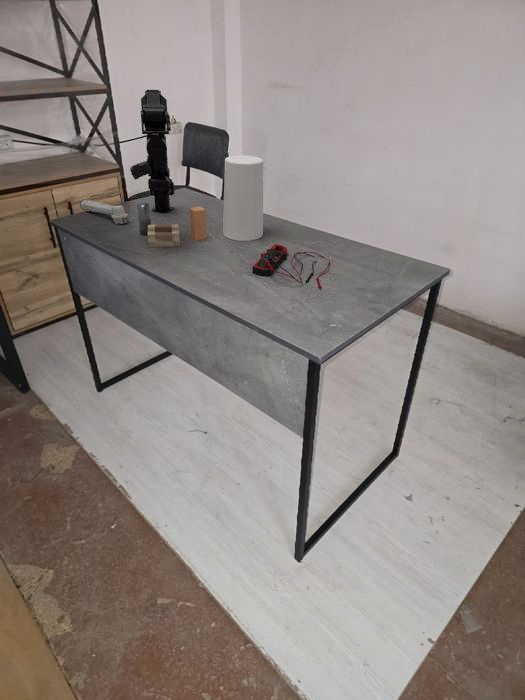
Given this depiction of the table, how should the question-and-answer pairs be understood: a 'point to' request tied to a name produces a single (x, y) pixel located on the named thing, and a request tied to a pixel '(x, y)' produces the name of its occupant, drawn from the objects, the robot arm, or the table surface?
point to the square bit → (198, 223)
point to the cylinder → (243, 198)
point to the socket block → (163, 235)
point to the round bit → (144, 217)
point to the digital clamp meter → (273, 260)
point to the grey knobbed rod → (106, 210)
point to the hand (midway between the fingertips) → (161, 204)
